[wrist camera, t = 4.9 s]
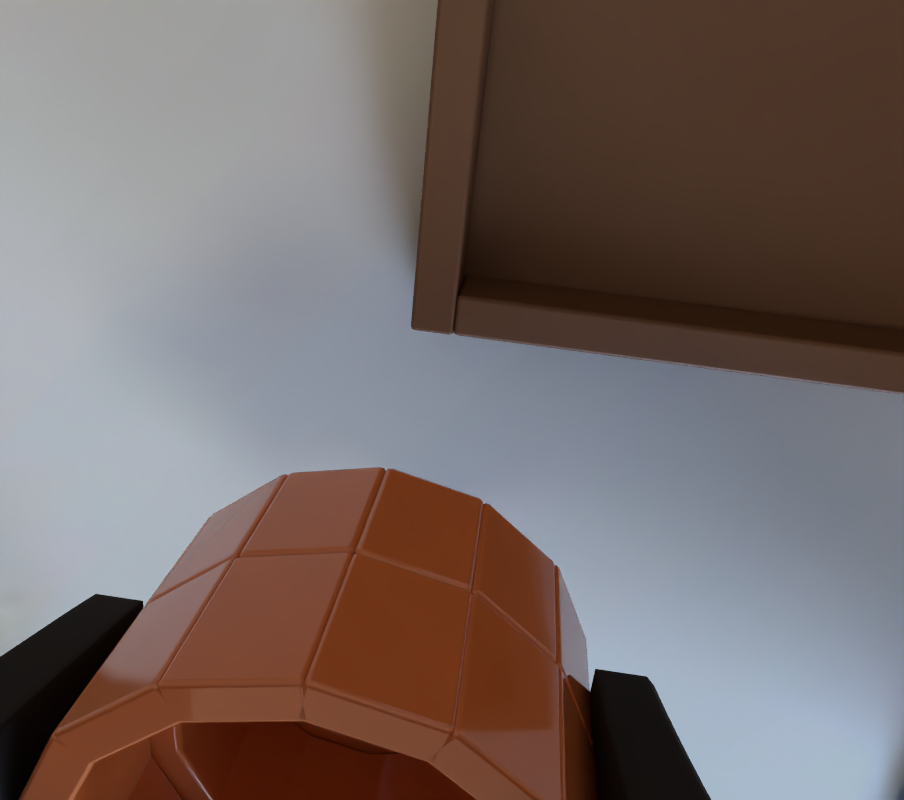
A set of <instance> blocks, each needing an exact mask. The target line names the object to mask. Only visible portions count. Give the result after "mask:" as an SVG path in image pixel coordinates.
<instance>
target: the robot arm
mask: <svg viewBox="0 0 904 800" xmlns="http://www.w3.org/2000/svg"><path fill="white" fill-rule="evenodd" d="M142 609H143V601H139V600H132V599H126V598H119V597H112V596H106V595H99V594H95V595H94V596H92V597H90V598H89V599H87V600H86V601H84V602H82V603H81V604H79V605H78V606H76V607H74V608H73V609H71V610H70V611H68V612H67V613H65V614H64V615H62V616H61V617H59V618H58V619H56V620H55V621H53V622H52V623H50V624H49V625H47V626H46V627H44V628H43V629H41V630H40V631H38V632H37V633H35V634H34V635H32V636H31V637H29V638H28V639H26V640H25V641H23V642H22V643H20V644H19V645H17V646H16V647H14V648H13V649H11V650H10V651H8V652H7V653H5V654H4V655H2V656H1V657H0V800H18V798H19V796H20V794H21V792H22V790H23V788H24V786H25V784H26V782H27V781H28V779H29V777H30V775H31V773H32V771H33V769H34V767H35V765H36V763H37V761H38V759H39V757H40V755H41V753H42V751H43V749H44V747H45V746H46V744H47V742H48V740H49V738H50V736H51V734H52V733H53V731H54V730H55V728H56V727H57V726H58V724H59V723H60V722H61V720H62V719H63V717H64V716H65V715H66V713H67V712H68V711H69V709H70V708H71V706H72V705H73V704H74V702H75V701H76V700H77V698H78V697H79V695H80V694H81V693H82V691H83V690H84V689H85V687H86V686H87V684H88V683H89V682H90V680H91V679H92V678H93V676H94V675H95V674H96V672H97V671H98V669H99V668H100V667H101V665H102V664H103V663H104V661H105V660H106V658H107V657H108V656H109V654H110V653H111V652H112V650H113V649H114V647H115V646H116V645H117V643H118V642H119V641H120V639H121V638H122V636H123V635H124V634H125V632H126V631H127V630H128V628H129V627H130V625H131V624H132V623H133V621H134V620H135V619H136V617H137V616H138V614H139V613H140V612H141V610H142ZM590 702H591V716H592V729H593V750H594V755H595V769H596V782H597V796H598V800H711V799H710V797H709V795H708V793H707V791H706V789H705V788H704V786H703V784H702V782H701V780H700V778H699V776H698V774H697V772H696V770H695V769H694V767H693V765H692V763H691V761H690V759H689V757H688V755H687V753H686V751H685V749H684V747H683V745H682V743H681V741H680V739H679V737H678V735H677V733H676V731H675V729H674V727H673V725H672V723H671V721H670V719H669V717H668V715H667V713H666V711H665V708H664V706H663V704H662V702H661V700H660V698H659V696H658V693H657V691H656V689H655V687H654V685H653V684H652V683H651V681H650V680H649V679H648V677H645V676H639V675H632V674H625V673H619V672H612V671H605V670H599V669H595V674H594V678H593V682H592V687H591V691H590Z"/></svg>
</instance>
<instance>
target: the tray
mask: <svg viewBox="0 0 904 800" xmlns="http://www.w3.org/2000/svg"><path fill="white" fill-rule="evenodd" d="M411 327H412V329H414V330H420V331H427V332H435V333H442V334H452V333H453V331H454V333H455V334H456V335H460V336H467V337H475V338H482V339H490V340H497V341H505V342H512V343H520V344H527V345H535V346H542V347H550V348H557V349H565V350H572V351H580V352H587V353H595V354H602V355H610V356H617V357H625V358H632V359H640V360H647V361H655V362H662V363H670V364H677V365H685V366H692V367H700V368H707V369H715V370H722V371H730V372H737V373H745V374H752V375H760V376H767V377H775V378H782V379H790V380H797V381H805V382H812V383H820V384H827V385H835V386H842V387H850V388H857V389H865V390H872V391H880V392H887V393H895V394H902V395H904V0H438V7H437V19H436V31H435V43H434V55H433V67H432V80H431V92H430V104H429V116H428V128H427V140H426V152H425V164H424V176H423V188H422V200H421V212H420V224H419V236H418V248H417V260H416V272H415V284H414V297H413V309H412V321H411Z"/></svg>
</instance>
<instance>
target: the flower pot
mask: <svg viewBox="0 0 904 800" xmlns="http://www.w3.org/2000/svg"><path fill="white" fill-rule="evenodd" d="M18 800H598V796H597V782H596V769H595V755H594V750H593V729H592V716H591V702H590V688H589V675H588V661H587V648H586V638H585V635H584V633H583V630H582V627H581V625H580V622H579V619H578V617H577V614H576V611H575V609H574V606H573V603H572V601H571V598H570V595H569V593H568V590H567V587H566V585H565V582H564V579H563V577H562V574H561V571H560V569H559V568H558V566H557V565H554V563H553V561H552V560H551V559H550V558H549V557H547V556H546V555H545V554H544V553H543V552H542V551H541V550H540V549H539V548H537V547H536V546H535V545H534V544H533V543H532V542H531V541H530V540H529V539H527V538H526V537H525V536H524V535H523V534H522V533H521V532H520V531H518V530H517V529H516V528H515V527H514V526H513V525H512V524H511V523H510V522H508V521H507V520H506V519H505V518H504V517H503V516H502V515H501V514H500V513H498V512H497V511H496V510H495V509H494V508H493V507H492V506H491V505H489V504H487V503H485V504H483V501H482V500H481V499H479V498H477V497H474V496H471V495H469V494H466V493H463V492H460V491H457V490H454V489H451V488H448V487H445V486H442V485H439V484H436V483H433V482H430V481H428V480H425V479H422V478H419V477H416V476H413V475H410V474H407V473H404V472H401V471H398V470H395V469H387V470H385V469H384V468H382V467H373V468H358V469H342V470H327V471H311V472H296V473H291V474H289V475H287V474H284V475H281V476H279V477H277V478H276V479H274V480H272V481H270V482H269V483H267V484H265V485H263V486H262V487H260V488H258V489H256V490H255V491H253V492H251V493H249V494H248V495H246V496H244V497H242V498H241V499H239V500H237V501H235V502H233V503H232V504H230V505H228V506H226V507H225V508H223V509H221V510H219V511H218V512H216V513H214V514H213V515H212V516H211V517H210V518H208V520H207V521H206V522H205V524H204V525H203V527H202V528H201V529H200V531H199V532H198V533H197V535H196V536H195V537H194V539H193V540H192V542H191V543H190V544H189V546H188V547H187V548H186V550H185V551H184V553H183V554H182V555H181V557H180V558H179V559H178V561H177V562H176V564H175V565H174V566H173V568H172V569H171V570H170V572H169V573H168V575H167V576H166V577H165V579H164V580H163V581H162V583H161V584H160V586H159V587H158V588H157V590H156V591H155V592H154V594H153V595H152V597H151V598H150V599H149V601H148V602H147V604H146V606H145V607H144V609H142V610H141V612H140V613H139V614H138V616H137V617H136V619H135V620H134V621H133V623H132V624H131V625H130V627H129V628H128V630H127V631H126V632H125V634H124V635H123V636H122V638H121V639H120V641H119V642H118V643H117V645H116V646H115V647H114V649H113V650H112V652H111V653H110V654H109V656H108V657H107V658H106V660H105V661H104V663H103V664H102V665H101V667H100V668H99V669H98V671H97V672H96V674H95V675H94V676H93V678H92V679H91V680H90V682H89V683H88V684H87V686H86V687H85V689H84V690H83V691H82V693H81V694H80V695H79V697H78V698H77V700H76V701H75V702H74V704H73V705H72V706H71V708H70V709H69V711H68V712H67V713H66V715H65V716H64V717H63V719H62V720H61V722H60V723H59V724H58V726H57V727H56V728H55V730H54V731H53V733H52V734H51V736H50V738H49V740H48V742H47V744H46V746H45V747H44V749H43V751H42V753H41V755H40V757H39V759H38V761H37V763H36V765H35V767H34V769H33V771H32V773H31V775H30V777H29V779H28V781H27V782H26V784H25V786H24V788H23V790H22V792H21V794H20V796H19V798H18Z"/></svg>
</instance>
